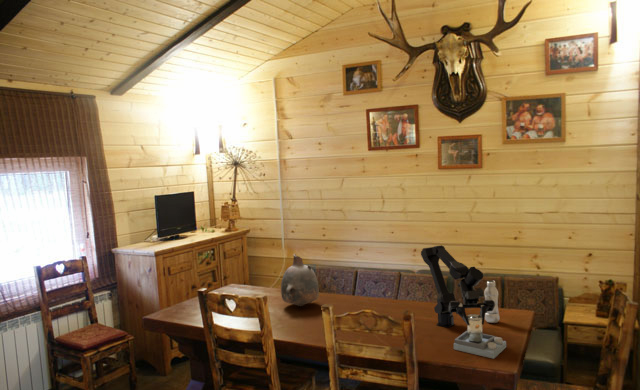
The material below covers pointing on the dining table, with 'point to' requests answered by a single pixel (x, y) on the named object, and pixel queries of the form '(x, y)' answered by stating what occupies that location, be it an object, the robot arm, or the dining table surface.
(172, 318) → the dining table surface
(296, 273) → the jug
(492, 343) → the square tray with knobs
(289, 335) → the dining table surface
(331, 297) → the dining table surface
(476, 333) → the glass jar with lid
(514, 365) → the dining table surface
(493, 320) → the plastic bottle
